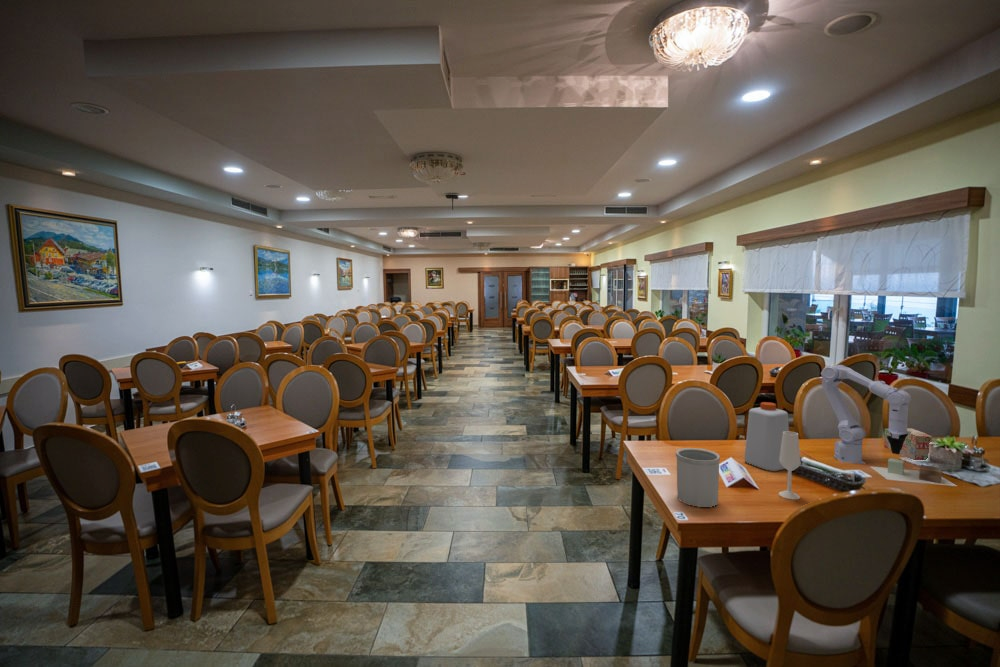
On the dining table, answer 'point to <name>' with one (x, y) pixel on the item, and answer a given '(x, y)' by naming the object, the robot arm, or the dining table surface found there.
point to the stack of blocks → (912, 444)
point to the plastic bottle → (765, 436)
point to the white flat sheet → (908, 476)
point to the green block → (895, 466)
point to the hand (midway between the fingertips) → (896, 451)
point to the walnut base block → (930, 474)
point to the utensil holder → (697, 476)
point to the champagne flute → (789, 459)
